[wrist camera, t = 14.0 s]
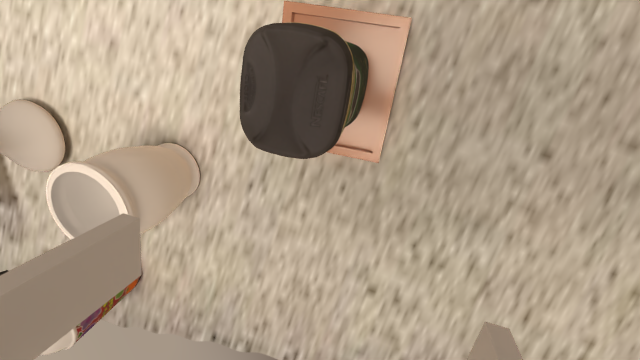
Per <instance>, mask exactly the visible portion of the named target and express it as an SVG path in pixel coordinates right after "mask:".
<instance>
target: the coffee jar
mask: <svg viewBox="0 0 640 360" xmlns="http://www.w3.org/2000/svg"><path fill="white" fill-rule="evenodd" d="M368 70H369V64H368V59H367V56H366V54H365V52H364V51H363V50H362V49H361V48H360V47H359V46H357V45H355V44H353V43H350V42H346V41H345V40H344V39H343V38H342V37H341V36H340V35H339V34H337V33H336V32H334V31H332V30H330V29H327V28H324V27H321V26H316V25H311V24H306V23H298V22H287V23H274V24H269V25H265V26H263V27H261V28H259V29H258V30H256V31H255V32H254V33H253V34H252V36H251V37H250V39H249V40H248V42H247V45H246V47H245V51H244V56H243V64H242V73H241V84H240V120H241V125H242V128H243V131H244V133H245V135H246V136H247V138H248V140H249V141H250V142H251V143H252V144H253V145H254V146H255V147H257V148H259V149H261V150H263V151H266V152H270V153H273V154H277V155H280V156H285V157H291V158H299V159H308V158H314V157H318V156H320V155H322V154H324V153H325V152H327V151H329V150H330V149H331V148H333V147H334V146H335V144H336V143H337V142H338V140H339V138H340V136H341V134H342V132H343V130H344V128H345V127H347V126H348V125H350V124H351V123H352V122H353V121H354V120H355V119H356V118H357V116H358V114H359V112H360V109H361V107H362V103H363V100H364V96H365V91H366V86H367V80H368Z"/></svg>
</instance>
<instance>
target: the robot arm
mask: <svg viewBox="0 0 640 360" xmlns="http://www.w3.org/2000/svg"><path fill="white" fill-rule="evenodd" d="M141 275H142V271H141V241H140V218H137V217H134V216H130V215H127V214H124V213H123V214H121V215H119V216H117V217H115V218H113V219H111V220H109V221H107V222H105V223H103V224H101V225H99V226H97V227H95V228H93V229H91V230H89V231H87V232H85V233H83V234H81V235H79V236H77V237H75V238H73V239H71V240H69V241H67V242H65V243H63V244H61V245H60V246H58V247H56V248H54V249H52V250H50V251H48V252H46V253H44V254H42V255H40V256H38V257H36V258H34V259H32V260H30V261H28V262H26V263H24V264H22V265H20V266H18V267H16V268H14V269H12V270H10V271H8V270H6V271H3V272H0V360H34V359H35V358H36V357H38V356H39V355H40V354H42V353H43V352H44V351H45V350H47V349H48V348H49V347H50V346H52V345H53V344H54V343H56V342H57V341H58V340H59V339H61V338H62V337H63V336H64V335H66V334H67V333H68V332H70V331H71V330H72V329H73V328H75V327H76V326H77V325H78V324H80V323H81V322H82V321H84V320H85V319H86V318H87V317H89V316H90V315H91V314H92V313H94V312H95V311H96V310H98V309H99V308H100V307H101V306H103V305H104V304H105V303H107V302H108V301H109V300H110V299H112V298H113V297H114V296H115V295H117V294H118V293H119V292H121V291H122V290H123V289H124V288H126V287H127V286H128V285H129V284H131V283H132V282H133V281H135V280H136V279H137V278H138V277H140V276H141ZM467 360H523V359H522V356H521V354H520V352H519V350H518V347H517V345H516V343H515V341H514V338H513V336H512V334H511V332H510V329H508V328H505V327H501V326H498V325H495V324H491V323H488V322H485V323H484V325H483V327H482V329H481V331H480V333H479V335H478V337H477V339H476V341H475V344H474V346H473V348H472V350H471V352H470V354H469V356H468V358H467Z"/></svg>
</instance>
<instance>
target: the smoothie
mask: <svg viewBox="0 0 640 360" xmlns="http://www.w3.org/2000/svg"><path fill="white" fill-rule="evenodd" d="M139 278H140V277H138V278H137V279H136V280H135V281H133V282H132V283H131V284H129V285H128V286H127V287H126V288H124V289H123V290H122V291H121V292H119V293H118V294H117V295H115V296H114V297H113V298H112V299H110V300H109V301H108V302H107V303H105V304H104V305H103V306H101V307H100V308H99V309H98V310H96V311H95V312H94V313H92V314H91V315H90V316H89V317H87V318H86V319H85V320H84V321H82V322H81V323H80V324H78V325H77V326H76V327H75V328H73V329H72V330H71V331H70V332H68V333H67V334H66V335H64V336H63V337H62V338H61V339H59V340H58V341H57V342H56V343H54V344H53V345H52V346H50V347H49V348H48V349H47V350H45V351H44V352H43V353H42V354H40V355H48V354H53V353H55V352H59V351H61V350H63V349H69V348H70V347H72V346H73V345H74V344H75V342H77V341H78V340H79V339H80V338H81V337H82V336H83V335H84V334H85V333H86V332H87V331H88V330H89V329H91V328H92V327H93V326H94V325H95V324H96V323H97V322H98V321H99V320H100V319H101V318H102V317H103V316H104V315H105V314H107V313H108V312H109V311H110V310H111V309H112V308H113V307H114V306H115V305H116V304H117V303H118V302H119V301H120V300H121V299H122V298H124V297H125V296H126V295H127V294H128V293H129V292H130V291H131V290H132V289H133V288H134V287H135V286H136V285H137V283H138V280H139ZM40 355H39V356H40Z"/></svg>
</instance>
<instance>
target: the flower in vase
mask: <svg viewBox="0 0 640 360" xmlns="http://www.w3.org/2000/svg"><path fill="white" fill-rule="evenodd" d="M0 153H1V154H3V155H5V156H6V157H8V158H9V159H11V160H12V161H14V162H15V163H17V164H18V165H20V166H22V167H24V168H27V169H29V170H32V171H37V172H49V171H52V170H54V169H55V168H57V167H58V166H59V164H60V163H61V162H62V160H63V158H64V154H65V141H64V137H63V134H62V131H61V129H60V127H59V125H58V124H57V122H56V121H55V119H54V118H53V117H52V116H51V114H50V113H49V112H47V111H46V110H45V109H44V108H42V107H41V106H39V105H37V104H35V103H33V102H31V101H28V100H21V99H19V100H14V101H12V102H9V103H7V104H6V105H4V106H3V107H2V109H1V110H0Z"/></svg>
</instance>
